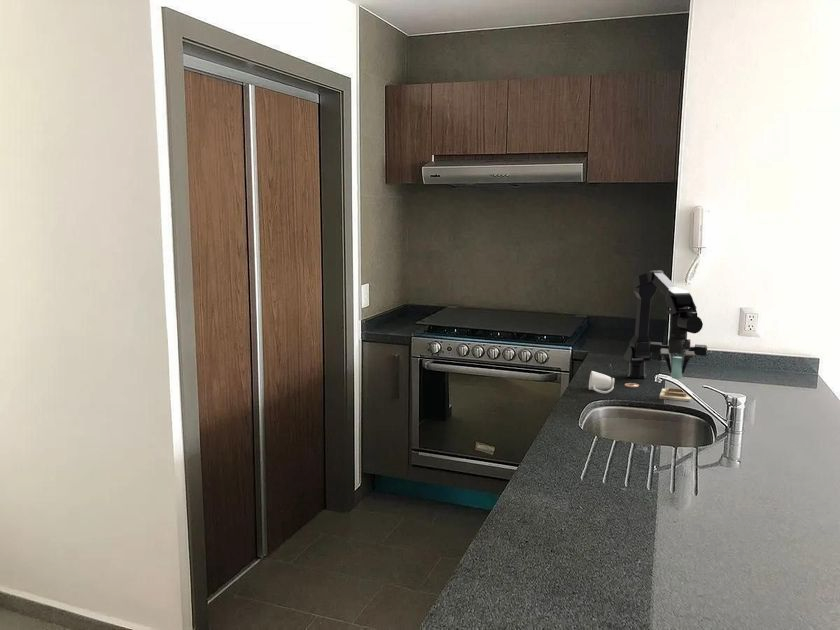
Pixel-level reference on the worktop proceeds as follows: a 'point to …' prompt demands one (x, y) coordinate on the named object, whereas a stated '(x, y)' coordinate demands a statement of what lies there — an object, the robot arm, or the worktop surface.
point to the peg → (676, 367)
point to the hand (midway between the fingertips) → (676, 373)
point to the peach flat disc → (631, 385)
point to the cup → (600, 382)
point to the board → (674, 394)
